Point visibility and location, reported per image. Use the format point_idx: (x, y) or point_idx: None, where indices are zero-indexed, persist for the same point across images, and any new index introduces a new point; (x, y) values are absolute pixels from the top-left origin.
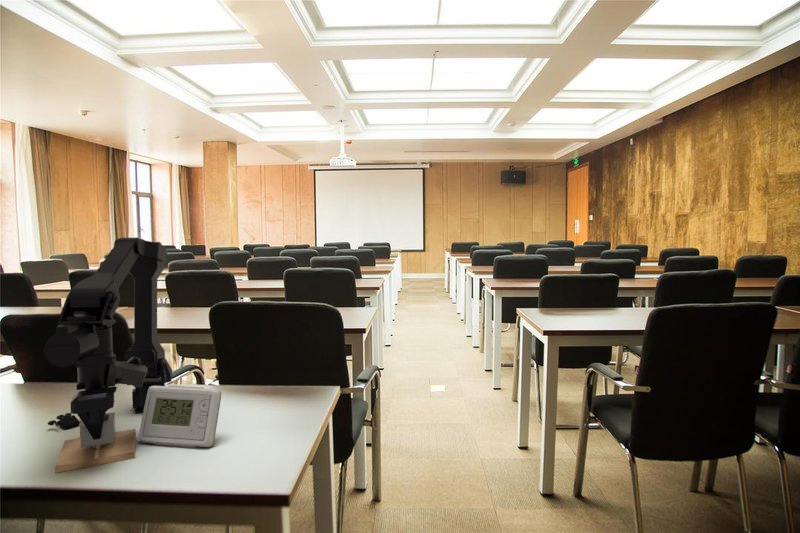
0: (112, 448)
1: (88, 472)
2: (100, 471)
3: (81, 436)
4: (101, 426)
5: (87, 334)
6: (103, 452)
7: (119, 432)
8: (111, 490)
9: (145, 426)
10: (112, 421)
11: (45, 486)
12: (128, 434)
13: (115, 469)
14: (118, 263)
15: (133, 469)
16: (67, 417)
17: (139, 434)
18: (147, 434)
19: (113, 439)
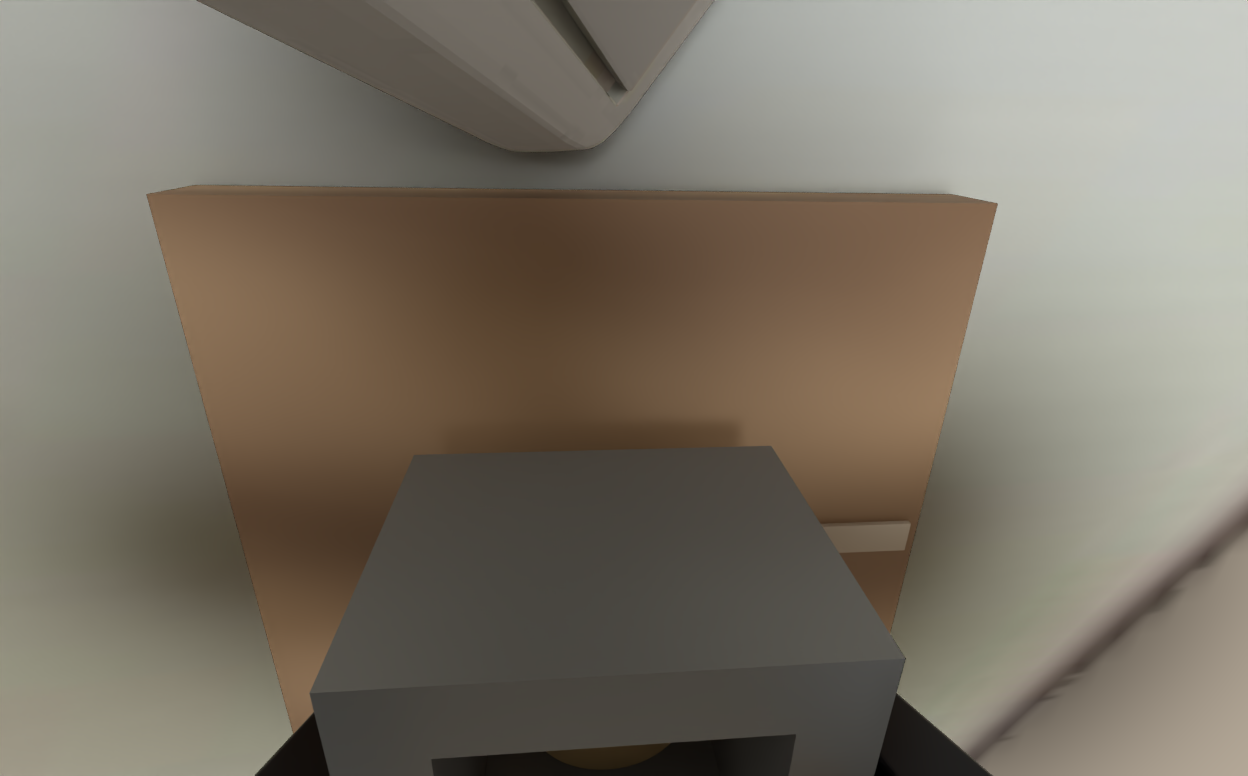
0: (749, 426)
1: (979, 532)
2: (1028, 458)
3: None
4: (960, 756)
5: None
6: (808, 493)
7: (249, 387)
8: None
9: (617, 26)
10: (898, 662)
11: (1004, 714)
12: (371, 281)
13: (1081, 354)
14: None
15: (1210, 205)
16: None
17: (586, 140)
18: (679, 14)
19: (783, 466)
